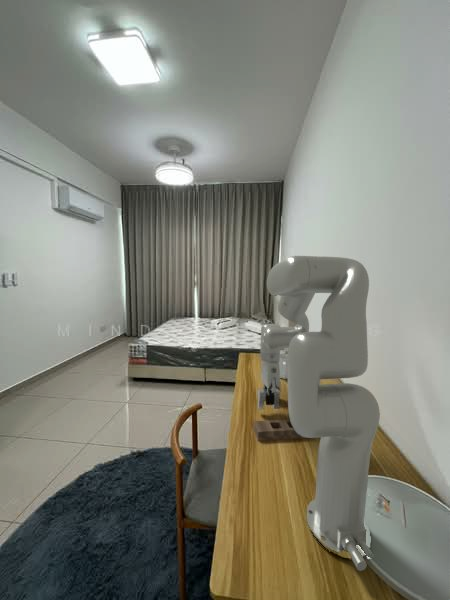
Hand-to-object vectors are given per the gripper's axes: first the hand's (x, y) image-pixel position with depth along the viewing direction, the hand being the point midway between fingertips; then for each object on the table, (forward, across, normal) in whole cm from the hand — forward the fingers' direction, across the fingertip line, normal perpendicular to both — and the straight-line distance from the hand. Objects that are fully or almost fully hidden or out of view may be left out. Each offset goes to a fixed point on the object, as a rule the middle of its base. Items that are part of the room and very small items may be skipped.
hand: (268, 401), depth 96 cm
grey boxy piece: (+2, 0, 0) cm, 2 cm away
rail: (+5, -12, -2) cm, 13 cm away
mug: (+4, +34, -19) cm, 39 cm away
